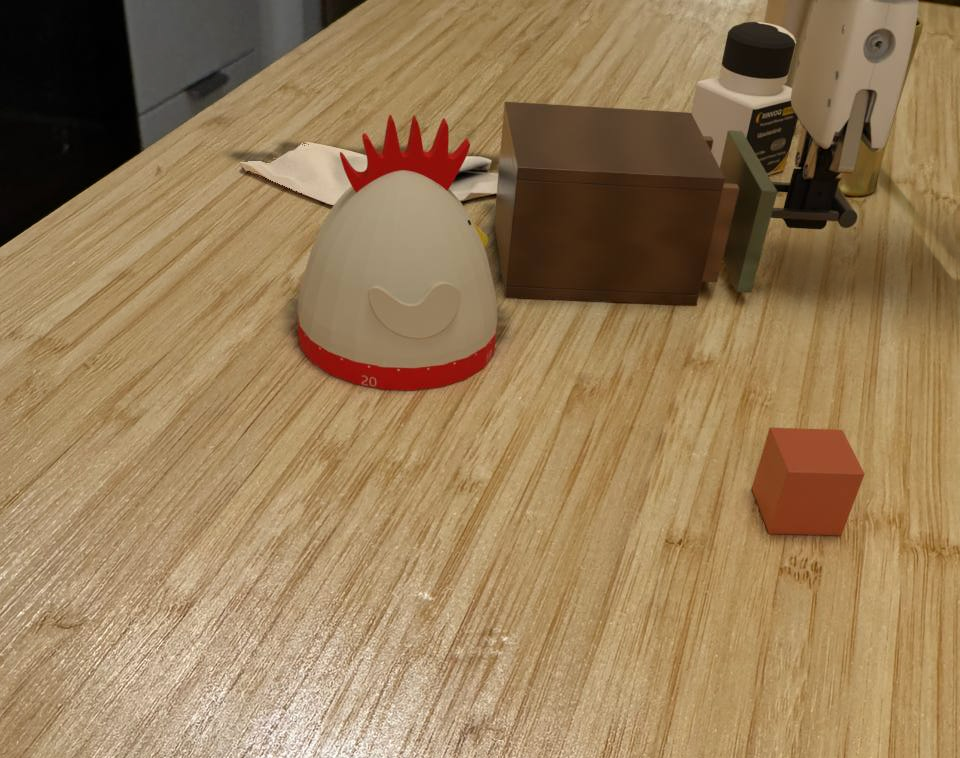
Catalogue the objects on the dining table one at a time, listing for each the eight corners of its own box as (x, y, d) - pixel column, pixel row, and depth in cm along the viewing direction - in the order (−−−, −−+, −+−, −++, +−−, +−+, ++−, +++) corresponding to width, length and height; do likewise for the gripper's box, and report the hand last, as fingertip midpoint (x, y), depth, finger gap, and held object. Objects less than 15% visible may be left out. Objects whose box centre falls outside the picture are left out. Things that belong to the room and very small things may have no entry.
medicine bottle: (736, 186, 105) (769, 45, 96) (680, 159, 108) (706, 21, 100) (785, 171, 108) (821, 34, 100) (729, 145, 112) (759, 11, 104)
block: (821, 490, 71) (842, 429, 68) (842, 536, 68) (865, 474, 64) (751, 488, 70) (769, 426, 67) (768, 534, 67) (788, 471, 64)
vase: (883, 182, 108) (936, 17, 98) (865, 203, 104) (918, 33, 94) (822, 165, 110) (868, 2, 100) (802, 185, 106) (847, 17, 96)
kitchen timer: (514, 386, 77) (538, 161, 66) (308, 394, 74) (301, 162, 64) (473, 288, 87) (489, 79, 76) (290, 292, 84) (281, 76, 73)
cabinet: (667, 232, 96) (691, 112, 90) (696, 306, 87) (725, 178, 80) (494, 224, 95) (504, 101, 88) (504, 297, 86) (517, 167, 79)
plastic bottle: (761, 109, 120) (815, -113, 106) (812, 131, 117) (874, -96, 103) (721, 120, 117) (770, -108, 103) (772, 142, 113) (830, -91, 100)
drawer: (809, 231, 96) (836, 136, 91) (848, 297, 88) (881, 196, 83) (560, 219, 94) (572, 120, 89) (576, 285, 86) (591, 181, 81)
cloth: (213, 195, 95) (211, 168, 93) (264, 136, 105) (262, 111, 103) (520, 241, 93) (523, 213, 91) (543, 176, 103) (545, 151, 101)
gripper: (969, -3, 72) (877, 270, 85) (894, -63, 83) (822, 187, 96) (854, -11, 71) (779, 265, 84) (794, -70, 82) (735, 183, 95)
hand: (802, 223), depth 90 cm, fingers closed
